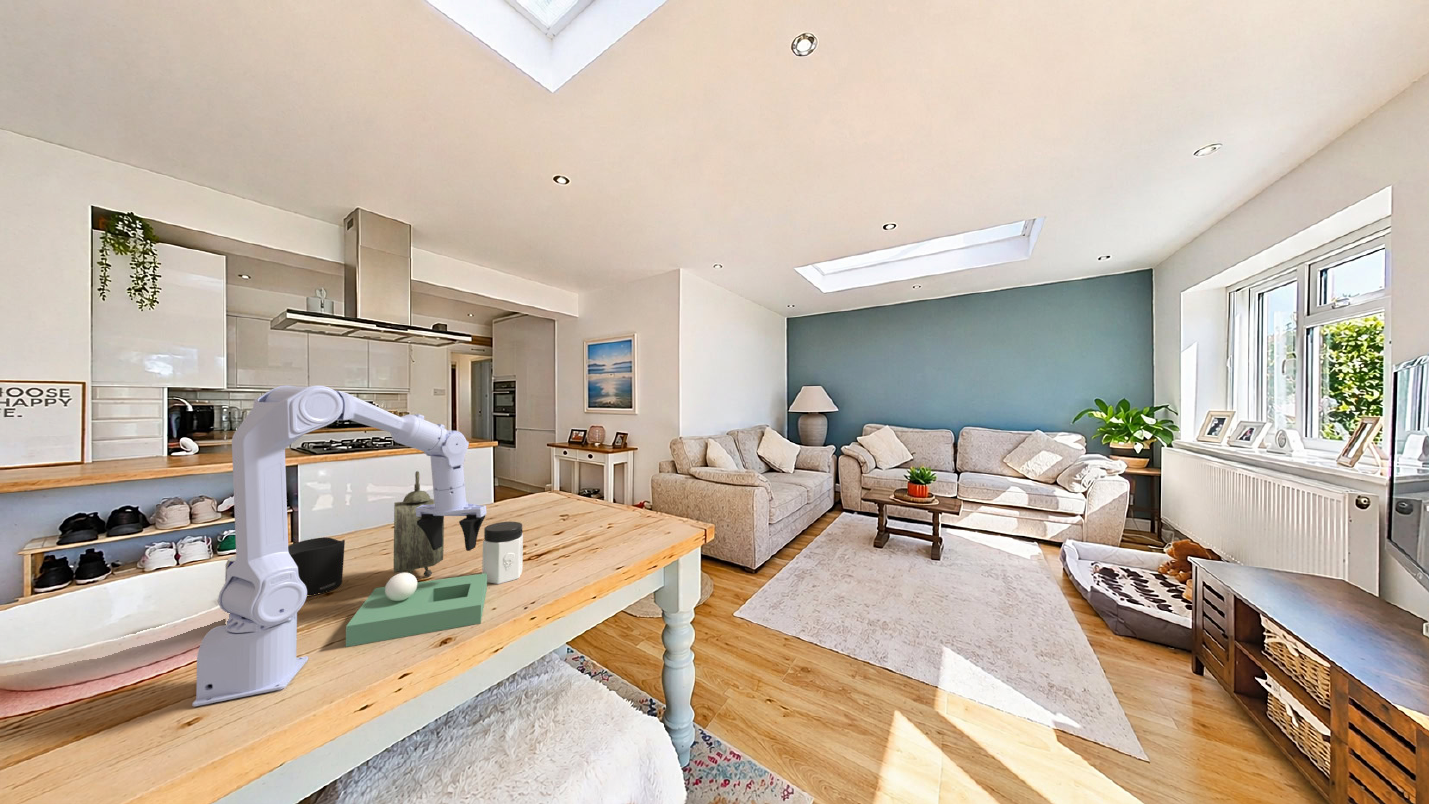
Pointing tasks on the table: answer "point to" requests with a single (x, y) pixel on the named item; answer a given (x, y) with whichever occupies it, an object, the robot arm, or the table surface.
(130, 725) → the table surface
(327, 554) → the pen holder
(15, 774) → the table surface
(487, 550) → the jar
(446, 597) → the putting box
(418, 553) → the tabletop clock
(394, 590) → the white egg
